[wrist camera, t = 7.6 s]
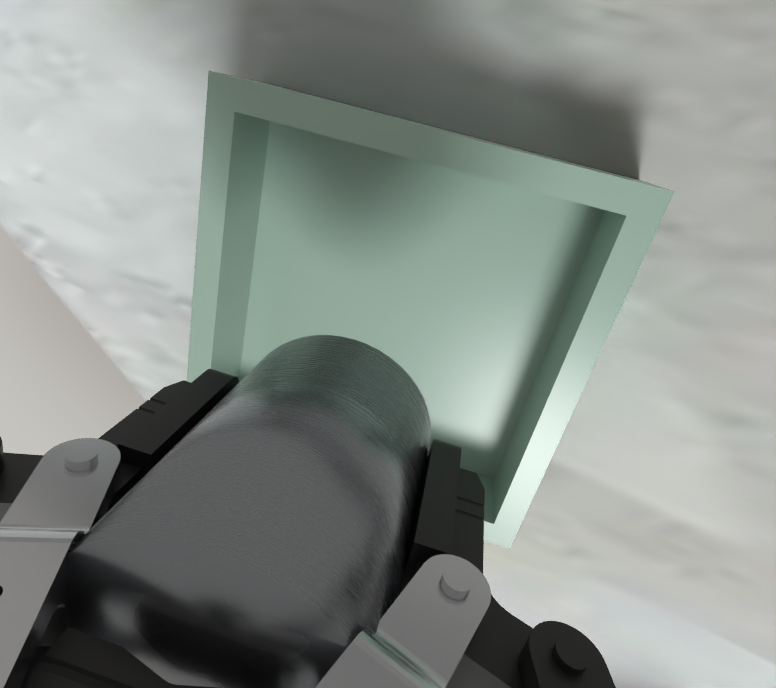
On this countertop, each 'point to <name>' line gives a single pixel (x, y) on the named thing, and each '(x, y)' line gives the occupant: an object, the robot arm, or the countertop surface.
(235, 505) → the tin
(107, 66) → the countertop surface
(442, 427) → the tote
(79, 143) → the countertop surface
